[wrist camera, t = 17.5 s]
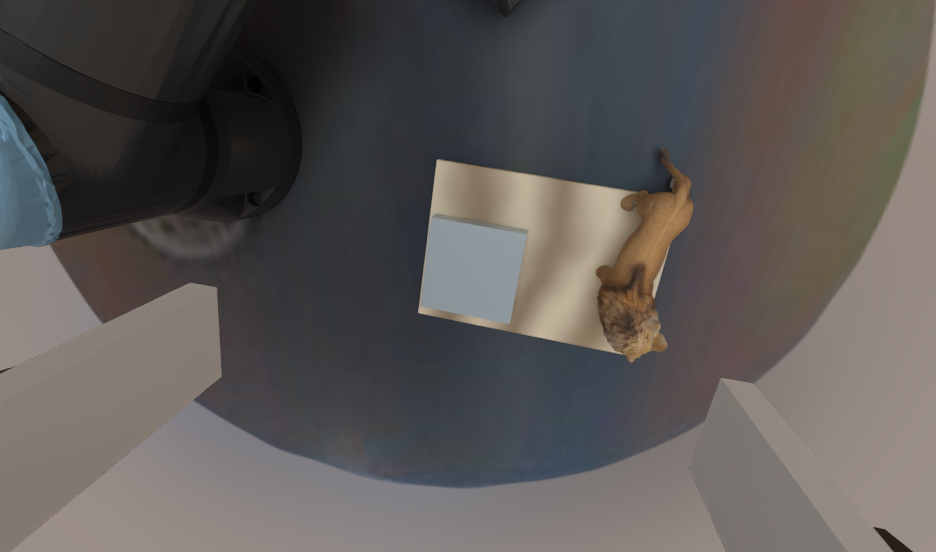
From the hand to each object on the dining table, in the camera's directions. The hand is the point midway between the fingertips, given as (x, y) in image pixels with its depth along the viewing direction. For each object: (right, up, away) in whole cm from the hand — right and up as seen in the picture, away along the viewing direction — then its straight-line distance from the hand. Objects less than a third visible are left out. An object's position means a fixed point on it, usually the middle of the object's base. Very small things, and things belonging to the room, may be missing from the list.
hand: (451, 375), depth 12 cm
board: (+7, +4, +29) cm, 30 cm away
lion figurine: (+14, +5, +26) cm, 30 cm away
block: (+1, +7, +27) cm, 28 cm away
